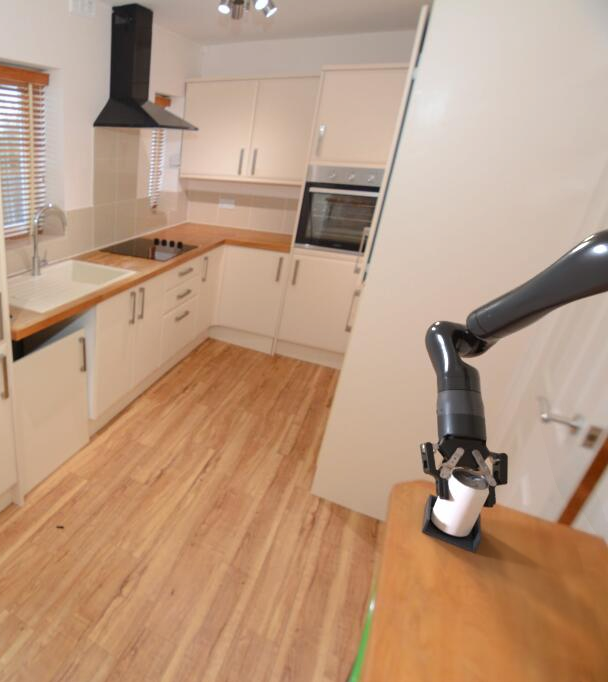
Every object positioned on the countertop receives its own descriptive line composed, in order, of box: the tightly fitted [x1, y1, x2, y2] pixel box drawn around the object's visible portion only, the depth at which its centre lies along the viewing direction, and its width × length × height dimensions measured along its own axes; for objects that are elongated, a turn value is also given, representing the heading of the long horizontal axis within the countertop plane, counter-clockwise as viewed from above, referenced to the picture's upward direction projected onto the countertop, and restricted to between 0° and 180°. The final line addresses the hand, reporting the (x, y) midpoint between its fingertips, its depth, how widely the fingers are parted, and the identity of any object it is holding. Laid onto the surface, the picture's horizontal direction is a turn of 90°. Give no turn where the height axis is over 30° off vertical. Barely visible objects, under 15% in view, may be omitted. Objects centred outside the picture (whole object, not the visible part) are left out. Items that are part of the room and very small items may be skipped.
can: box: [431, 467, 489, 537], centre depth 88 cm, size 6×6×12 cm
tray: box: [421, 493, 482, 554], centre depth 91 cm, size 10×8×4 cm
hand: (465, 503), depth 86 cm, fingers closed on can, 6 cm apart
